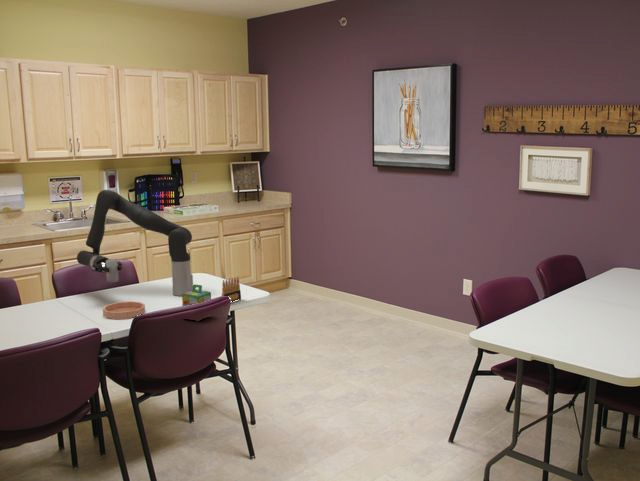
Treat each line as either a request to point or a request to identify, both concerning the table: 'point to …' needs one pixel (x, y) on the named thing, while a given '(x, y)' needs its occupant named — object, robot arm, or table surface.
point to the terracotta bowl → (123, 310)
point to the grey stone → (112, 270)
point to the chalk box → (195, 296)
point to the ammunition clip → (231, 289)
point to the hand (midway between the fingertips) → (114, 269)
